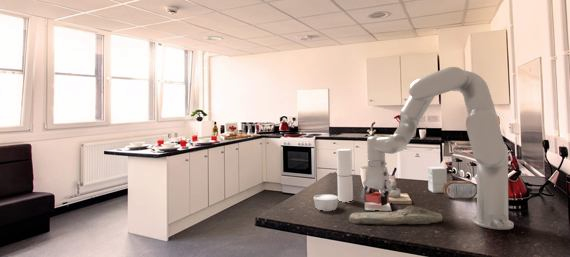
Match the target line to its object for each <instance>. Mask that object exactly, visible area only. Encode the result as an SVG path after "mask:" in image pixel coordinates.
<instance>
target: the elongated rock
mask: <svg viewBox="0 0 570 257" xmlns="http://www.w3.org/2000/svg"><path fill="white" fill-rule="evenodd" d="M442 221H443V215H442V214H441V213H440V212H435V211H431V210H429V209H427V208H421V207H419V206H417V207H416V206H414V205H412V204H411V205H407V206H406V207H405V208H403V209H402V208H399V209H397V210H394V211H375V212H374V211H373V212H372V211H371V212H370V211H367V212H365V211H364V212H359V211H358V212H357V211H356V212H352V213H351V214H349V223H351V224H354V225H357V224H362V225H363V224H364V225H365V224H366V225H367V224H368V225H396V226H397V225H417V224H419V225H430V224H436V223H439V222H442Z"/></svg>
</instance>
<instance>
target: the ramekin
mask: <svg viewBox="0 0 570 257" xmlns="http://www.w3.org/2000/svg"><path fill="white" fill-rule="evenodd" d="M313 201H314V202H313V203H314V207H315V209H316V208H317V209H316V210H317V211H320V210H323V211H322V212H331V211H332V210H333V211H335V210H336V209H337V208H338V202H339V201H338V195H335V194H328V193H327V194H316V195H314V196H313Z"/></svg>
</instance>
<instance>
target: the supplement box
mask: <svg viewBox="0 0 570 257" xmlns="http://www.w3.org/2000/svg"><path fill="white" fill-rule="evenodd" d="M427 181H428V182H427V183H428V184H427V185H428V188H427V189H428V191H430V192H431V193H433V194H434V193H439V194H444V192H443V187H444V185H445V184H446V183H447V182H448V170H447V168H446V167H443V166H427Z"/></svg>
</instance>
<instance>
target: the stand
mask: <svg viewBox="0 0 570 257" xmlns="http://www.w3.org/2000/svg"><path fill="white" fill-rule="evenodd" d="M390 186H391V187H392V191H391V192H390V193H389V194H388V195H389V202H387V203H389V204H391V203H392V204H393V205H394V204H395V205H397V204H398V205H399V204H400V205H412V204H413V203H412V199H411V198H410V196H409V194H408V193H402V192H401V188H397V181H396V180H391V181H390Z"/></svg>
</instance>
